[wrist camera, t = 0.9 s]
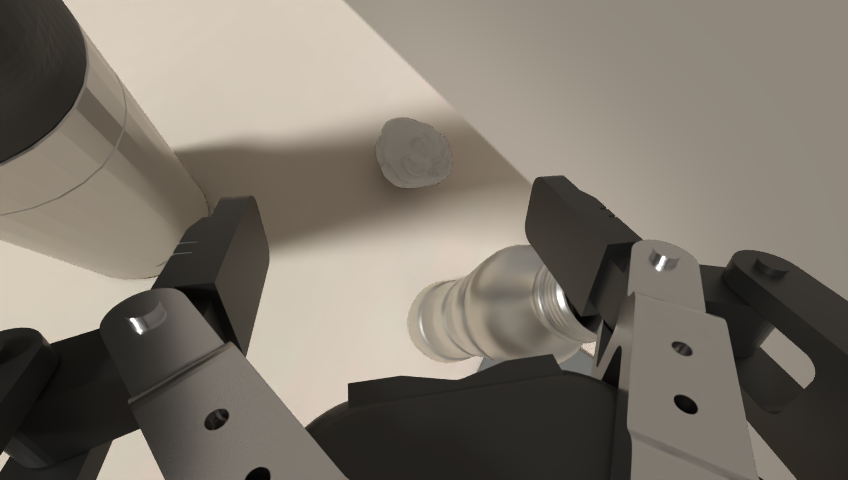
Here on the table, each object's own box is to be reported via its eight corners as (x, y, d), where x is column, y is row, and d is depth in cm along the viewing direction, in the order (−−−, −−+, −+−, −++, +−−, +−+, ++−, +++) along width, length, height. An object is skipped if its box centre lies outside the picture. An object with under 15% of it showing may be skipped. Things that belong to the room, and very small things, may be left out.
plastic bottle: (391, 298, 32) (496, 233, 14) (461, 276, 34) (632, 195, 16) (415, 373, 31) (563, 414, 13) (485, 345, 33) (699, 344, 15)
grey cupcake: (403, 220, 34) (423, 191, 28) (354, 161, 35) (363, 119, 28) (449, 184, 37) (478, 150, 30) (403, 130, 37) (422, 84, 30)
